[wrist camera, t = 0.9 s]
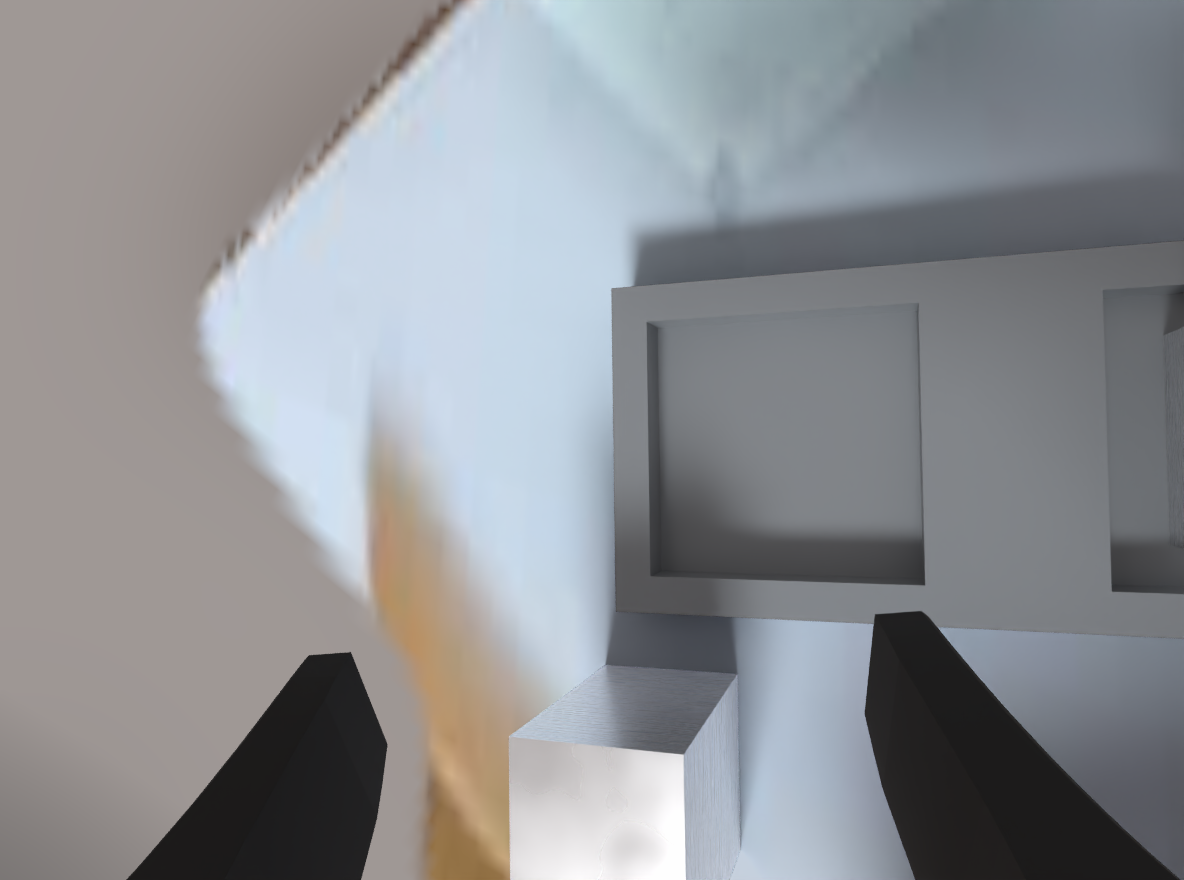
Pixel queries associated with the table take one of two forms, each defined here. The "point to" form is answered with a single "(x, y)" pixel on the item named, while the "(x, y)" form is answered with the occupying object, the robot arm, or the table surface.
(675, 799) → the block
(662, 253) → the table surface
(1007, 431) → the pallet
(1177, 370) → the block
